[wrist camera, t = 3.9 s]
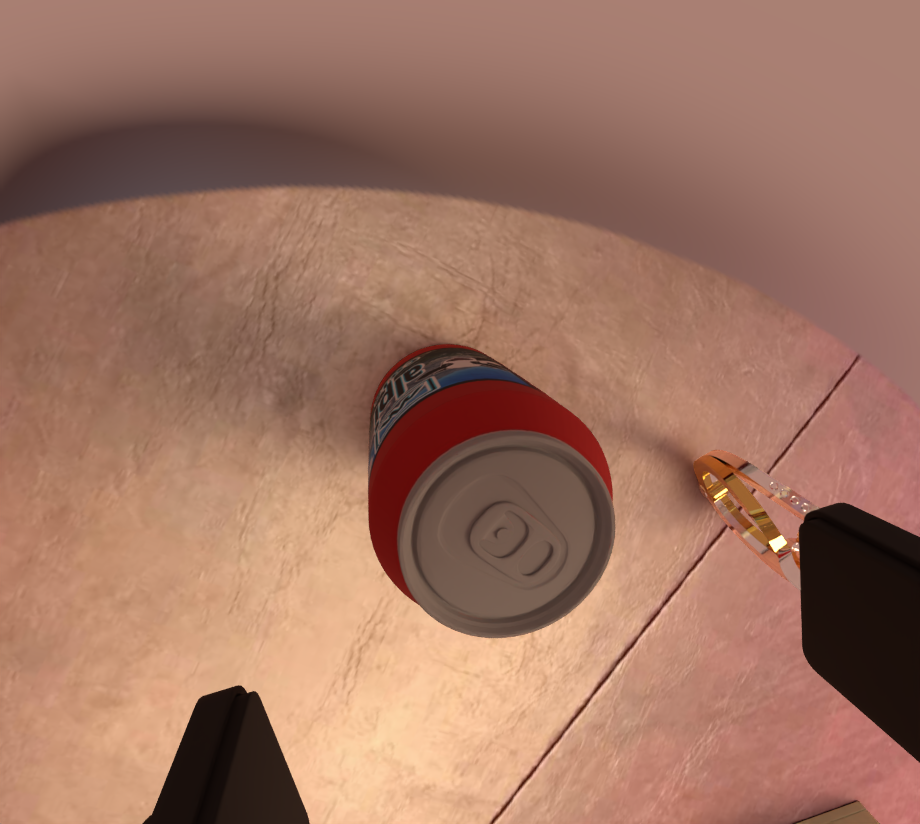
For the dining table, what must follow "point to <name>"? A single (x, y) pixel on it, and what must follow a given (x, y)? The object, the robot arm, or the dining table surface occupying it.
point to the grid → (844, 816)
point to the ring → (753, 508)
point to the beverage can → (485, 494)
